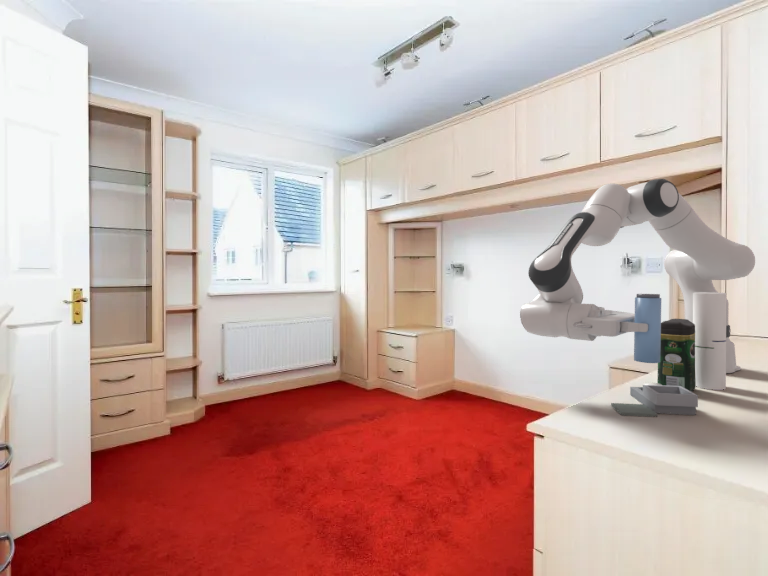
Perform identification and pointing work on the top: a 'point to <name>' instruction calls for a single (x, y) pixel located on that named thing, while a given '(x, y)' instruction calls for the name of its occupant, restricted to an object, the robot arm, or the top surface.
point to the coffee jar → (677, 354)
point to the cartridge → (649, 341)
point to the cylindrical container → (710, 340)
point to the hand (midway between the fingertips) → (651, 326)
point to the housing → (666, 399)
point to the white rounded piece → (650, 383)
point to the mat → (633, 409)
